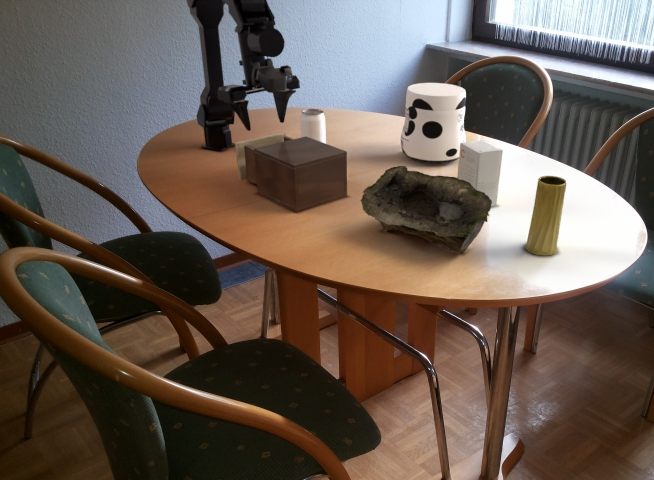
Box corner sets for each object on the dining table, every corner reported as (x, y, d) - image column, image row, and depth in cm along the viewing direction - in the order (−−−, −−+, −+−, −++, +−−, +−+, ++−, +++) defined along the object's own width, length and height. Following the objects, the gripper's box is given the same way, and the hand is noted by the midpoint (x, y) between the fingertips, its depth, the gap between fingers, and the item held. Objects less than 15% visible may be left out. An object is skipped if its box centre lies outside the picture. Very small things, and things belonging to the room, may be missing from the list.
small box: (496, 205, 146) (503, 149, 139) (473, 209, 144) (479, 152, 137) (477, 193, 152) (483, 139, 145) (454, 197, 150) (459, 142, 143)
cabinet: (257, 193, 148) (253, 148, 142) (307, 179, 157) (306, 136, 151) (296, 212, 139) (294, 165, 134) (347, 196, 148) (347, 151, 143)
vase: (521, 242, 130) (532, 174, 122) (551, 242, 130) (563, 174, 123) (529, 256, 125) (541, 186, 117) (560, 255, 125) (573, 186, 118)
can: (328, 154, 174) (327, 109, 168) (323, 161, 168) (322, 115, 162) (304, 152, 174) (302, 107, 168) (299, 160, 169) (297, 114, 163)
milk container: (476, 158, 175) (483, 90, 165) (436, 172, 164) (441, 100, 154) (428, 143, 185) (432, 78, 175) (386, 156, 174) (388, 87, 164)
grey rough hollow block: (482, 282, 125) (520, 216, 126) (458, 256, 114) (500, 185, 115) (377, 233, 140) (412, 175, 141) (348, 207, 129) (386, 144, 130)
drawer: (229, 174, 155) (225, 138, 151) (275, 163, 163) (272, 128, 159) (272, 195, 145) (269, 157, 140) (318, 181, 153) (317, 145, 148)
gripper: (237, 62, 131) (250, 139, 138) (310, 50, 142) (318, 122, 149) (209, 60, 138) (223, 133, 145) (281, 48, 149) (290, 117, 156)
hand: (265, 126), depth 149 cm, fingers open, 9 cm apart
